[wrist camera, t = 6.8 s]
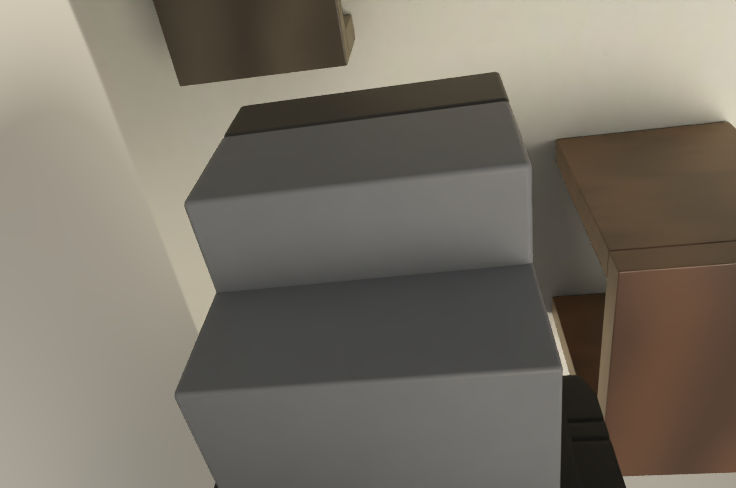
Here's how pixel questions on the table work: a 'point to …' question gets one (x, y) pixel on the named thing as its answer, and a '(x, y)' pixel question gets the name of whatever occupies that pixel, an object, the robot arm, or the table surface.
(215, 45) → the low shelf
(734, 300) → the wooden footstool
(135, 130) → the table surface
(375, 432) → the stepped grey block
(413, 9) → the table surface
